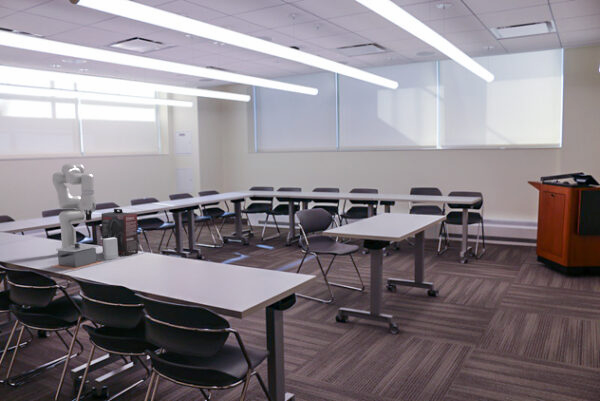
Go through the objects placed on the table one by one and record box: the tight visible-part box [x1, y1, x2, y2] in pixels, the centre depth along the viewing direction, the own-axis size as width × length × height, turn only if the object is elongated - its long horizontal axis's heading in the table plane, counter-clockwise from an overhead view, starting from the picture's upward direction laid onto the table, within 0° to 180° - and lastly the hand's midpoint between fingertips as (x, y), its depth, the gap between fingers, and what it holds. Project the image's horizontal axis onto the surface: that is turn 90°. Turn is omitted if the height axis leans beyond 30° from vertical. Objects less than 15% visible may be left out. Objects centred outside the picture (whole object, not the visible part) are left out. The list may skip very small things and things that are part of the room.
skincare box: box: [102, 237, 119, 261], centre depth 330 cm, size 8×6×15 cm
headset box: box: [100, 208, 139, 257], centre depth 349 cm, size 24×13×33 cm, turn 62°
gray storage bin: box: [57, 247, 97, 268], centre depth 313 cm, size 16×24×10 cm
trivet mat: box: [50, 260, 103, 271], centre depth 314 cm, size 21×24×1 cm
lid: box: [55, 242, 99, 252], centre depth 312 cm, size 17×18×3 cm
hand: (88, 219), depth 320 cm, fingers closed
